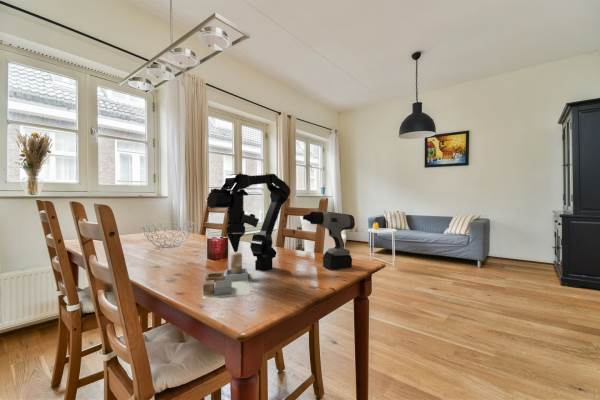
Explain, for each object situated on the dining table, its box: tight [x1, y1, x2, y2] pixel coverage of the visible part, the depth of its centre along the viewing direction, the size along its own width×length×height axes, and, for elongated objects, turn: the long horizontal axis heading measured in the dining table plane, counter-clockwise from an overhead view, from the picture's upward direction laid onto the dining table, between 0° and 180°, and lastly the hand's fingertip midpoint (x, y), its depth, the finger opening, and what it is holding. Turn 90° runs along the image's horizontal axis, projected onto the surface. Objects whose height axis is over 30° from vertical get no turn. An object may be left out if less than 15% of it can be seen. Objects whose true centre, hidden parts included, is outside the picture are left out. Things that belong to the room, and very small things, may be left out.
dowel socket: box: [205, 271, 225, 282], centre depth 96 cm, size 6×6×2 cm
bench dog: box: [202, 280, 214, 296], centre depth 83 cm, size 3×4×3 cm
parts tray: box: [224, 267, 249, 281], centre depth 98 cm, size 8×8×2 cm
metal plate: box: [215, 279, 232, 296], centre depth 84 cm, size 5×7×2 cm
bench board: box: [201, 273, 251, 300], centre depth 91 cm, size 14×25×1 cm, turn 14°
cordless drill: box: [302, 210, 356, 271], centre depth 115 cm, size 8×24×25 cm, turn 113°
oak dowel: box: [230, 252, 243, 275], centre depth 98 cm, size 4×4×8 cm
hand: (235, 249), depth 98 cm, fingers open, 9 cm apart
